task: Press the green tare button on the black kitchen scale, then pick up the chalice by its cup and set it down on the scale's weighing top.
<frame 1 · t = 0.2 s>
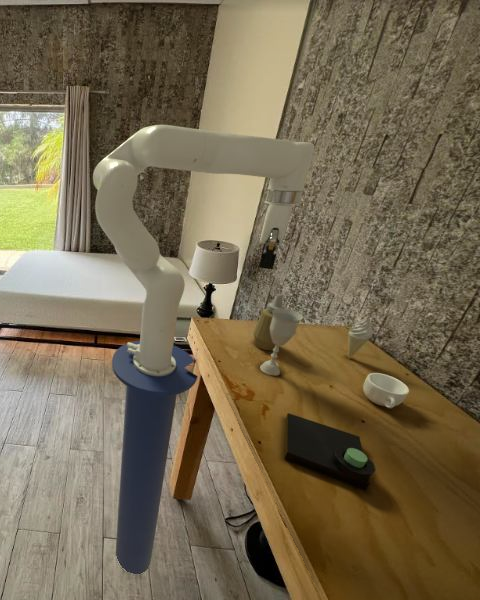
hand: (266, 262, 86), 29 cm above the worktop, tool pointing down, fingers open, 9 cm apart
scale: (320, 451, 66), on the worktop
squeeze bottle: (264, 346, 101), on the worktop
teacup: (379, 403, 78), on the worktop
tare button: (355, 457, 59), point 4 cm above the worktop, slide at 0.1 cm
ice cream cone: (348, 358, 95), on the worktop
chalice: (269, 370, 90), on the worktop
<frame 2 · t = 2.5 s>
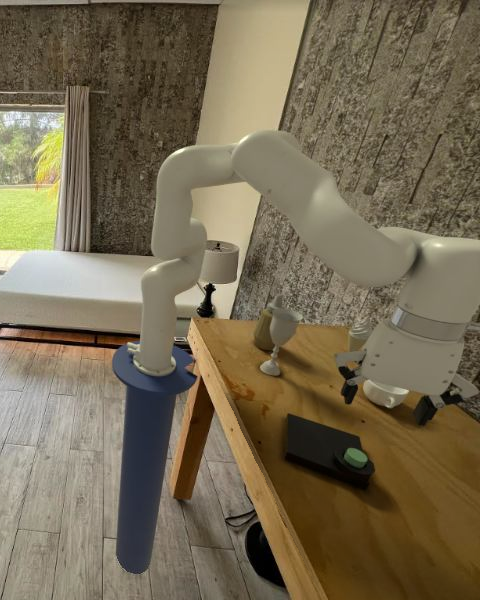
hand: (380, 409, 54), 17 cm above the worktop, tool pointing down, fingers open, 9 cm apart
nothing on the worktop moved.
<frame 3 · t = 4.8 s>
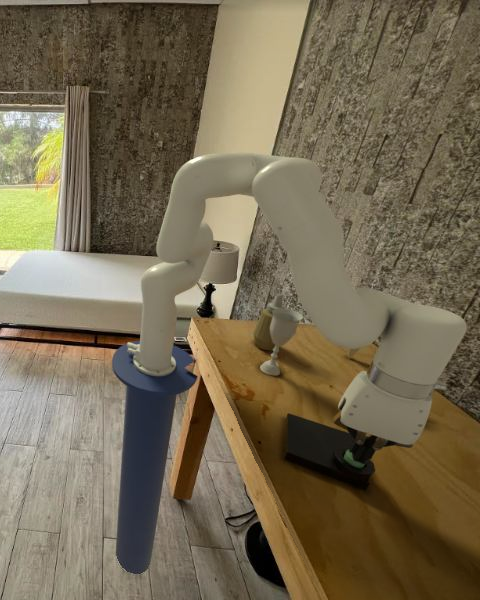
hand: (357, 456, 59), 5 cm above the worktop, tool pointing down, fingers closed
tare button: (354, 459, 60), point 4 cm above the worktop, slide at -0.3 cm, touching gripper
everything else where it was.
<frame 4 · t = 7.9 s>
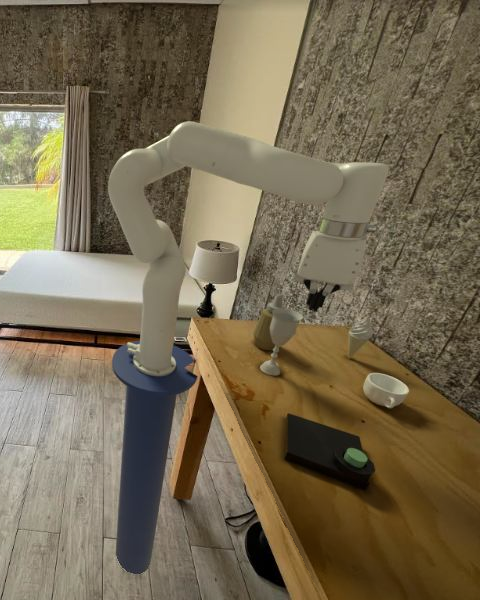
hand: (312, 308, 72), 24 cm above the worktop, tool pointing down, fingers closed
tare button: (355, 457, 59), point 4 cm above the worktop, slide at 0.1 cm
everything else where it was.
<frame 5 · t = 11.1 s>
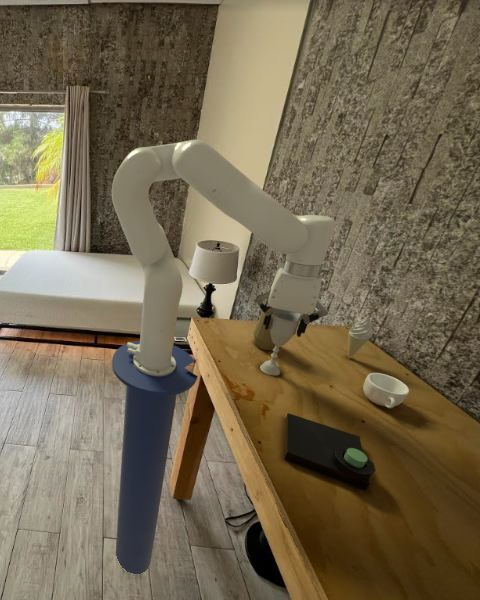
hand: (282, 330, 84), 13 cm above the worktop, tool pointing down, fingers closed on chalice, 6 cm apart
chalice: (269, 370, 90), on the worktop, touching gripper
everything else where it was.
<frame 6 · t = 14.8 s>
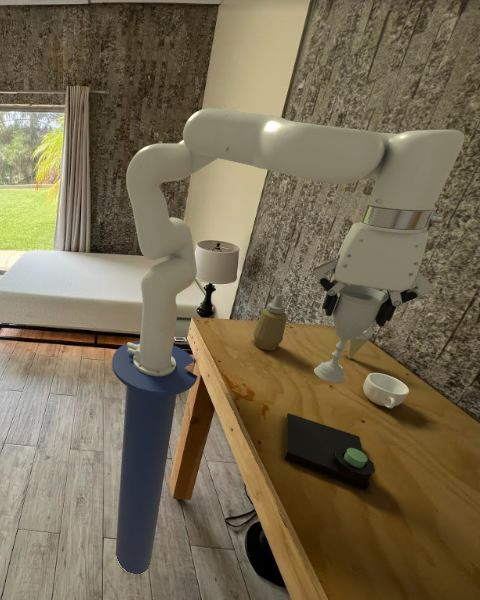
hand: (352, 317, 57), 29 cm above the worktop, tool pointing down, fingers closed on chalice, 6 cm apart
chalice: (328, 375, 63), point 16 cm above the worktop, touching gripper
everything else where it was.
when the fingers open (15 cm above the worktop, at t = 18.8 s): chalice stays where it is, resting on scale.
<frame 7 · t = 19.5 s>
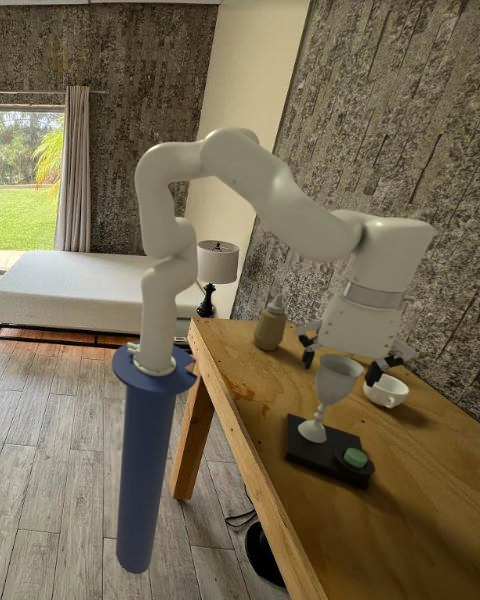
hand: (335, 374, 61), 18 cm above the worktop, tool pointing down, fingers open, 9 cm apart
chalice: (311, 433, 68), point 2 cm above the worktop, touching scale
everything else where it was.
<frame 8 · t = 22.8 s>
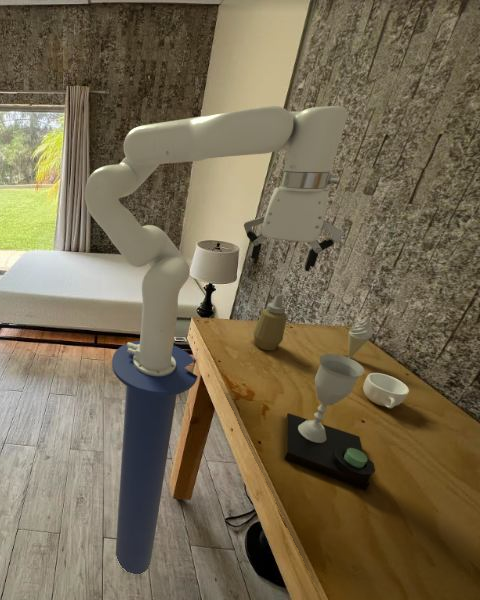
hand: (280, 265, 68), 34 cm above the worktop, tool pointing down, fingers open, 9 cm apart
nothing on the worktop moved.
at the end: tare button pushed in 1.1 cm at the most during the clip, back to where it started at the end; chalice inside the target area on the scale (1.3 cm from its centre), point 2.0 cm above the scale's base; chalice tilted 0° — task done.
